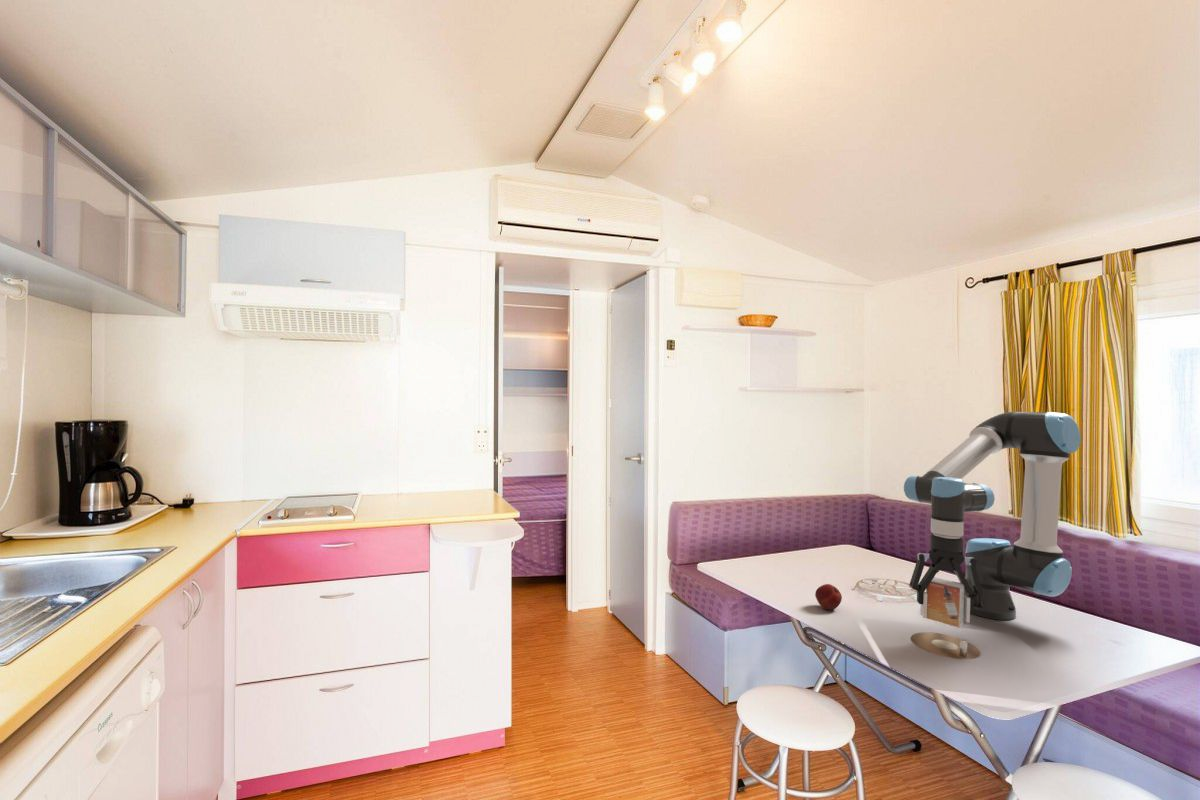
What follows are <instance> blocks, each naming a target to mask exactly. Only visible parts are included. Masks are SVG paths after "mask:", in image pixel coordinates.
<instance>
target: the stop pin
mask: <svg viewBox="0 0 1200 800" xmlns="http://www.w3.org/2000/svg"><path fill="white" fill-rule="evenodd" d="M967 642H968V641H967V640H966V639H962V638H960V656H961V657H964V658H967Z"/></svg>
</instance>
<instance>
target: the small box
mask: <svg viewBox="0 0 1200 800" xmlns="http://www.w3.org/2000/svg"><path fill="white" fill-rule="evenodd" d="M925 592H926V593H927V618H926V620H931V621H935V622H938V623H942V624H945V625H948V626H952V627H955V628H960V627H961V625H963V624H964V622H965V621H964V603H965V587H964V585H963V584H962V583H960V581H959V582H958V581H954V580H949V579H944V578H939V577H936V576H934V578H933V579H932V581H931V582H930V584H929V585H928V587H927V588H926V590H925Z"/></svg>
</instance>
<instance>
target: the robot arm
mask: <svg viewBox="0 0 1200 800" xmlns="http://www.w3.org/2000/svg"><path fill="white" fill-rule="evenodd" d="M968 436H969V437H968V438H966V439H965V440H964V441H963V442H962V443H960V444H959V445H958V446H957V447H955V448H954V449H953V450H951V452H949V453H948V454H947V455H946V456H944V458H942V459H941V460H940V461H939V462H938V463H936V464H935V465H934V466H933V467H932V468H930V469H929V470H928V471H927V472H926V473H924V474H923V475H922V476H920V475H916V476H915V475H910V476H909V477H907V478H906V480H905V481H904V483H903V492H904V495H905V496H906V498H907V499H908V500H911V501H914V502H917V503H918V502H919V503H920V504H921V503H922V504H928V505H930V506H931V507H930V509H931V511H930V512H931V515H930V532H931V534H930V536H929V538H930V539H929V542H930V543H929V551H928V552H925V553H923V552H922V553H921V552H920V551H917V552H916V563H915V566H914V569H913V571H912V572H913V573H912V576H911V578H910V582H909V587H911V589H913V590H915V591H916V602H917V603H918V604H919V605H920V608H919V609H920V612H919V614H920V615H921V616H922V618H924V619H927V593H926V588H927V587H928V585H929V584H930V582H931V581H932V579H933V578H934V577H936V575H937V574H938V573H939V572H940V571H949V572H954V573H955V576H956V577H957V578H958V580H959V583H962V584H963V585H964V587H965V603H964V622H965V623H967V624H968V623H969V624H970V621H971V614H972V615H975V616H978V617H982V618H987V619H991V620H992V619H993V620H999V621H1000V620H1002V621H1003V620H1007V621H1010V620H1013V619H1016V617H1017V608H1016V605H1015V602H1014V600H1013V596H1012V594H1011V592H1010V591H1011V590H1010V587H1015V588H1017V589H1021V590H1025V591H1029V592H1031V593H1032V592H1033V593H1034V594H1036V595H1043V596H1047V597H1057V596H1060V595H1061V594H1063V593H1064V592H1065V590H1067V589H1068V587H1069V584H1070V582H1071V579H1072V575H1073V568H1072V566H1071V565H1072V564H1071V562H1070V561H1069V560H1067V559H1065V558H1064V557H1063V556H1064V551H1063V550H1062V549H1061V548H1060V547H1059V546H1058V531H1059V517H1060V516H1059V515H1060V514H1059V513H1060V501H1061V500H1060V499H1061V486H1062V485H1061V484H1062V483H1061V482H1062V472H1063V471H1062V469H1063V463H1065V462H1066V461H1069V460H1070V454H1073V453H1075V452H1077V451H1078V450H1079V446H1081V432H1080V428H1079V426H1078V424H1077V422H1076V420H1075V419H1074V418H1073V417H1072V416H1071V415H1070V414H1067V413H1064V412H1063V413H1062V412H1053V411H1046V412H1045V411H1043V412H1042V411H1007V412H1003V413H1000V414H997V415H995V416H993V417H990V418H988V419H986V420H984V421H983V422H981V423H979V424H978V425H976V427H974V428H973V429H971V431H970V432H969V435H968ZM1003 449H1018V450H1019V456H1020V457H1021V458H1022V459H1024V461H1025V464H1024V465H1025V467H1024V479H1023V481H1024V482H1023V495H1022V509H1021V511H1022V512H1021V521H1020V522H1021V524H1020V537H1019V539H1018V540H1016V541H1014V542H1013V547H1012V544H1011V542H1010V540H1007V539H1001V538H989V537H988V538H987V537H985V538H983V537H982V538H980V537H977V538H972V539H969V540H968V541H967V542H966V547H965V556H964V538H963V536H964V528H965V527H964V525H965V524H964V521H965V520H964V519H965V516H964V515H965V513H969V512H971V513H972V512H982V511H986V510H989V509H990V508H992V507H993V506H994V503H995V499H996V498H995V494H994V491H993V490H992V488H990V487H989V486H988V485H986V484H983V483H976V482H972V483H966V482H965V480H963V479H964V477H966V476H967V475H968V474H969V473H970V472H971V471H972V470H974V469H975V468H976V467H977V466H978V465H979V464H981V462H984V460H985V459H986V458H988V457H989V456H990V455H993V454H994V455H995V454H997V453H999V452H1000V451H1001V450H1003ZM928 559H929V560H930V561H931V563H930V565H929V567H928V569H927V571H926V573H925V574H924V576H923V577H922V579H921V576H922V575H923V574H922V573H923V570H924V568H925V564H926V562H927V561H928ZM963 563H965V575H964V572H963V570H962V569H961V565H962V564H963Z"/></svg>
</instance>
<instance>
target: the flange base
mask: <svg viewBox="0 0 1200 800" xmlns="http://www.w3.org/2000/svg"><path fill="white" fill-rule="evenodd" d="M960 639H961V638H960V637H956V636H953V635H949V634H944V633H939V632H928V631H927V632H926V631H925V632H917V633H916V632H915V633H913V634H912V635H911V636H910V640H911V642H912V643H913V644H914V645H915V646H916V647H918V648H920V649H921V650H924V651H926V652H929V653H931V654H935V655H937V656H938V655H939V656H941V657H946V658H951V659H957V660H958V659H959V660H972V659H977V658H979V657H980V656H981V655H982V652H981V650H980V649H979V648H978V646H976V645H975V644H972V643H971V642H970V641H967V658H964V657H961V656H960Z"/></svg>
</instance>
